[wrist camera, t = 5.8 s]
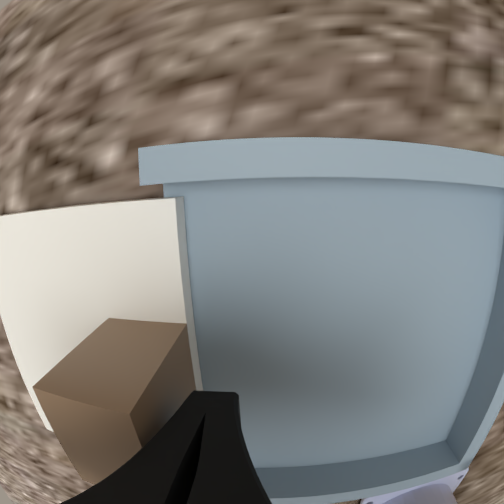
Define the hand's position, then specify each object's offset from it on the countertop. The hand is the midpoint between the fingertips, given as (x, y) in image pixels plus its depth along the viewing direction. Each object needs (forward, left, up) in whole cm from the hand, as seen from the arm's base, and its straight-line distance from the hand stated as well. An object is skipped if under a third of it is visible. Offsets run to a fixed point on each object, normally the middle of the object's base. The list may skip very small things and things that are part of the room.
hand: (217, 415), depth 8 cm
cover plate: (0, +6, -3) cm, 7 cm away
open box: (0, -5, -3) cm, 6 cm away
